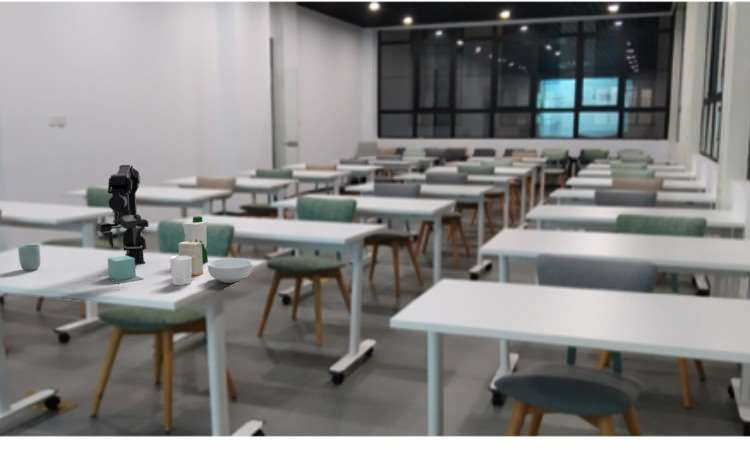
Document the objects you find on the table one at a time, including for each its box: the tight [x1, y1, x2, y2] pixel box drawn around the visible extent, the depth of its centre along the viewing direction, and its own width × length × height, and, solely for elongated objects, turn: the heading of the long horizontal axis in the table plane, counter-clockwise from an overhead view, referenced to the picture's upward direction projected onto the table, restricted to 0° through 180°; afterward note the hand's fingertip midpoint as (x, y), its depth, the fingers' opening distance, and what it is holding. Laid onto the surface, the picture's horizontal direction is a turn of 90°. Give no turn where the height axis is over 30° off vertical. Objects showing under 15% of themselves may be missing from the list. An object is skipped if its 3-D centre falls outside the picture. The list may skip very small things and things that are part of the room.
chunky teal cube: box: [107, 255, 137, 280], centre depth 260 cm, size 8×8×8 cm
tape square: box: [107, 275, 144, 284], centre depth 258 cm, size 10×10×1 cm
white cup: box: [169, 255, 192, 286], centre depth 251 cm, size 8×8×10 cm
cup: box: [17, 244, 42, 272], centre depth 273 cm, size 8×8×10 cm
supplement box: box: [178, 240, 204, 277], centre depth 266 cm, size 8×5×13 cm, turn 71°
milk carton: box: [181, 215, 209, 264], centre depth 286 cm, size 9×9×20 cm
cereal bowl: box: [207, 258, 253, 284], centre depth 256 cm, size 17×17×7 cm
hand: (123, 246), depth 256 cm, fingers open, 9 cm apart
